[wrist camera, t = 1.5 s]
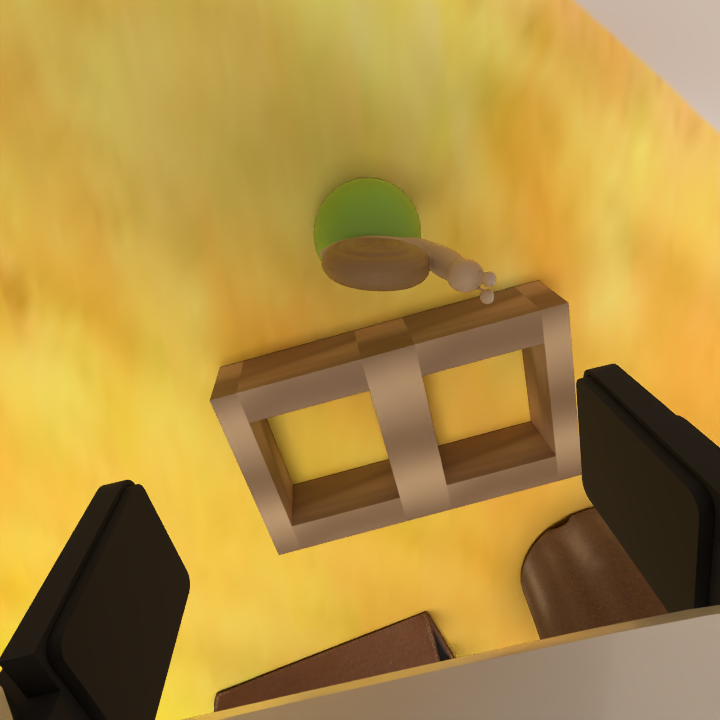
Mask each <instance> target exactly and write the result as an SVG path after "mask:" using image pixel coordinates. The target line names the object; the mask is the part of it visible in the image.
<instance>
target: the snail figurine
mask: <svg viewBox="0 0 720 720" xmlns="http://www.w3.org/2000/svg"><path fill="white" fill-rule="evenodd" d="M314 242H315V247H316V250H317V253H318V256H319V258H320V260H321V263H322V267H323V270H324V272H325V273H326V275H327V276H328V277H329V278H331V279H332V280H333V281H335V282H337V283H339V284H342V285H344V286H347V287H351V288H355V289H361V290H369V291H395V290H402V289H407V288H411V287H413V286H416V285H418V284H420V283H421V282H422V281H424V280H425V279H426V277H427V276H428V274H429V271H432V272H433V273H435V274H436V275H438V276H439V277H441V278H443V279H445V280H447V281H448V283H449V285H450V286H451V287H452V288H453V289H455V290H457V291H459V292H471V291H474V290H476V289H479V290H480V291H482V293H481V294H480V300H481V301H482V302H483V303H484V304H490V303H492V302H493V300H494V293H493V291H491V290H489V289H487V290H483V289H481V288H480V285H481V284H482V283H483V284H484V285H485V286H487V287H492V286H493V285H495V282H496V276H495V274H494V273H493V272H487V273H484V271H483V269H482V268H481V266H480V265H479V264H478V263H477V262H475V261H473V260H469V259H464V258H463V257H462V256H461V255H460V254H458V253H457V252H455V251H454V250H452V249H450V248H447V247H445V246H442V245H439V244H437V243H433V242H429V241H427V240H423V239H421V226H420V220H419V217H418V214H417V211H416V209H415V207H414V205H413V203H412V202H411V200H410V199H409V198H408V197H407V195H406V194H405V193H404V192H403V191H401V190H400V189H399V188H398V187H396V186H394V185H393V184H391V183H389V182H386V181H383V180H380V179H374V178H361V179H355V180H352V181H349V182H346V183H344V184H342V185H341V186H339V187H338V188H336V189H335V190H334V191H332V192H331V193H330V194H329V195H328V197H327V198H326V199H325V200H324V202H323V203H322V205H321V207H320V209H319V211H318V213H317V216H316V220H315V225H314Z"/></svg>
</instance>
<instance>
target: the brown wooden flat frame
mask: <svg viewBox="0 0 720 720" xmlns="http://www.w3.org/2000/svg"><path fill="white" fill-rule="evenodd" d="M520 349H522V352H523V360H524V368H525V376H526V384H527V392H528V400H529V408H530V416H531V422H527V423H523V424H520V425H516V426H512V427H508V428H505V429H501V430H497V431H494V432H490V433H486V434H482V435H479V436H475V437H471V438H467V439H464V440H460V441H456V442H453V443H449V444H445V445H441V446H438V445H437V440H436V436H435V432H434V427H433V423H432V418H431V414H430V410H429V405H428V401H427V396H426V392H425V388H424V383H423V379H422V376H424V375H428V374H432V373H435V372H439V371H443V370H446V369H450V368H454V367H457V366H461V365H465V364H469V363H472V362H476V361H480V360H483V359H487V358H491V357H494V356H498V355H502V354H505V353H509V352H513V351H516V350H520ZM369 390H370V393H371V397H372V400H373V404H374V407H375V411H376V414H377V418H378V421H379V425H380V428H381V432H382V436H383V439H384V443H385V446H386V450H387V453H388V457H389V460H385V461H382V462H378V463H374V464H370V465H367V466H363V467H359V468H356V469H352V470H348V471H344V472H341V473H337V474H333V475H329V476H326V477H322V478H318V479H315V480H311V481H307V482H303V483H300V484H296V485H293V484H292V482H291V479H290V477H289V474H288V472H287V469H286V467H285V464H284V462H283V459H282V457H281V454H280V452H279V449H278V447H277V444H276V442H275V439H274V437H273V434H272V432H271V429H270V426H269V424H268V421H267V419H266V418H269V417H273V416H277V415H281V414H284V413H288V412H292V411H295V410H299V409H303V408H306V407H310V406H314V405H317V404H321V403H325V402H328V401H332V400H336V399H340V398H343V397H347V396H351V395H354V394H358V393H362V392H365V391H369ZM210 402H211V404H212V406H213V409H214V411H215V413H216V415H217V418H218V420H219V422H220V424H221V427H222V429H223V431H224V433H225V435H226V438H227V440H228V442H229V444H230V447H231V449H232V451H233V453H234V456H235V458H236V460H237V462H238V465H239V467H240V469H241V471H242V474H243V476H244V478H245V480H246V482H247V485H248V487H249V489H250V491H251V494H252V496H253V498H254V500H255V503H256V505H257V507H258V509H259V512H260V514H261V516H262V518H263V521H264V523H265V525H266V527H267V529H268V532H269V534H270V536H271V538H272V541H273V543H274V545H275V547H276V550H277V552H278V554H279V555H281V554H285V553H288V552H292V551H296V550H300V549H303V548H307V547H311V546H315V545H318V544H322V543H326V542H330V541H334V540H337V539H341V538H345V537H349V536H352V535H356V534H360V533H364V532H367V531H371V530H375V529H379V528H383V527H386V526H390V525H394V524H398V523H401V522H405V521H409V520H413V519H416V518H420V517H424V516H428V515H431V514H435V513H439V512H443V511H447V510H450V509H454V508H458V507H462V506H465V505H469V504H473V503H477V502H480V501H484V500H488V499H492V498H496V497H499V496H503V495H507V494H511V493H514V492H518V491H522V490H526V489H529V488H533V487H537V486H541V485H544V484H548V483H552V482H556V481H560V480H563V479H567V478H571V477H575V476H578V475H582V472H581V459H580V446H579V433H578V420H577V408H576V395H575V382H574V369H573V356H572V343H571V330H570V318H569V305H568V302H567V301H565V300H564V299H563V298H561V297H560V296H559V295H557V294H556V293H555V292H553V291H552V290H551V289H549V288H548V287H547V286H545V285H544V284H543V283H541V282H540V281H539V280H538V281H534V282H530V283H527V284H523V285H520V286H516V287H512V288H509V289H505V290H501V291H498V292H494V300H493V302H492V303H490V304H484V303H483V302H482V301H481V300H480V296H479V297H476V298H472V299H468V300H465V301H461V302H457V303H454V304H450V305H446V306H443V307H439V308H436V309H432V310H428V311H425V312H421V313H417V314H414V315H410V316H406V317H403V318H399V319H395V320H392V321H388V322H384V323H381V324H377V325H373V326H370V327H366V328H363V329H359V330H355V331H352V332H348V333H344V334H341V335H337V336H333V337H330V338H326V339H322V340H319V341H315V342H311V343H308V344H304V345H300V346H297V347H293V348H289V349H286V350H282V351H279V352H275V353H271V354H268V355H264V356H260V357H257V358H253V359H249V360H246V361H242V362H238V363H235V364H231V365H227V366H224V367H220V369H219V372H218V375H217V379H216V382H215V385H214V389H213V392H212V395H211V398H210Z"/></svg>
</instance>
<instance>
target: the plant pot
mask: <svg viewBox="0 0 720 720" xmlns="http://www.w3.org/2000/svg"><path fill="white" fill-rule="evenodd" d="M521 584H522V589H523V593H524V595H525V598H526V600H527V603H528V606H529V609H530V611H531V614H532V617H533V620H534V622H535V625H536V628H537V631H538V634H539V637H540V640H542V639H547V638H551V637H556V636H561V635H565V634H570V633H575V632H579V631H584V630H588V629H593V628H598V627H603V626H608V625H613V624H618V623H623V622H628V621H633V620H638V619H643V618H648V617H653V616H658V615H664V614H669V613H668V611H667V610H666V609H665V607H664V606H663V604H662V603H661V601H660V600H659V598H658V597H657V596H656V594H655V593H654V591H653V590H652V588H651V587H650V586H649V584H648V583H647V581H646V580H645V578H644V577H643V576H642V574H641V573H640V571H639V570H638V568H637V567H636V566H635V564H634V563H633V561H632V560H631V558H630V557H629V556H628V554H627V553H626V551H625V550H624V548H623V547H622V546H621V544H620V543H619V541H618V540H617V538H616V537H615V535H614V534H613V533H612V531H611V530H610V528H609V527H608V525H607V524H606V523H605V521H604V520H603V518H602V517H601V515H600V514H599V513H598V511H597V510H596V508H592V509H587V510H585V511H582V512H579V513H576V514H573V515H572V516H570V518H569V520H568V521H567V523H566V524H564V525H563V526H561V527H558V528H556V529H549V530H547V531H546V532H545V533H544V534H543V535H542V536H541V537H540V538H539V539H538V540H537V542H536V543H535V544H534V545H533V547H532V548H531V550H530V551H529V553H528V555H527V557H526V559H525V562H524V565H523V569H522V574H521Z"/></svg>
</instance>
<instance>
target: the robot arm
mask: <svg viewBox="0 0 720 720" xmlns="http://www.w3.org/2000/svg"><path fill="white" fill-rule="evenodd" d="M576 389H577V405H578V421H579V436H580V452H581V468H582V481H583V486H584V489H585V492H586V494H587V496H588V498H589V500H590V501H591V503H592V504H593V505H594V507H595V508H596V510H597V511H598V513H599V514H600V515H601V517H602V518H603V520H604V521H605V523H606V524H607V525H608V527H609V528H610V530H611V531H612V533H613V534H614V535H615V537H616V538H617V540H618V541H619V543H620V544H621V546H622V547H623V548H624V550H625V551H626V553H627V554H628V556H629V557H630V558H631V560H632V561H633V563H634V564H635V566H636V567H637V568H638V570H639V571H640V573H641V574H642V576H643V577H644V578H645V580H646V581H647V583H648V584H649V586H650V587H651V588H652V590H653V591H654V593H655V594H656V596H657V597H658V598H659V600H660V601H661V603H662V604H663V606H664V607H665V609H666V610H667V611H668V613H669V614H664V615H658V616H653V617H648V618H643V619H638V620H633V621H628V622H623V623H618V624H613V625H608V626H603V627H598V628H593V629H588V630H584V631H579V632H575V633H570V634H565V635H561V636H556V637H551V638H547V639H542V640H538V641H533V642H528V643H524V644H519V645H514V646H510V647H505V648H501V649H496V650H491V651H487V652H482V653H478V654H473V655H468V656H464V657H459V658H454V659H450V660H445V661H441V662H436V663H432V664H427V665H423V666H418V667H414V668H409V669H405V670H400V671H396V672H391V673H387V674H382V675H378V676H373V677H369V678H364V679H360V680H355V681H351V682H346V683H342V684H337V685H333V686H328V687H324V688H319V689H315V690H310V691H306V692H301V693H297V694H292V695H288V696H284V697H279V698H275V699H270V700H266V701H262V702H257V703H253V704H249V705H244V706H240V707H235V708H231V709H227V710H222V711H218V712H214V713H209V714H205V715H200V716H196V717H192V718H187V719H183V720H720V448H719V447H718V446H717V445H716V444H715V443H713V442H712V441H711V440H710V439H709V438H707V437H706V436H705V435H704V434H703V433H702V432H700V431H699V430H698V429H697V428H696V427H694V426H693V425H692V424H691V423H690V422H688V421H687V420H686V419H684V418H683V417H681V416H678V415H676V414H674V413H673V412H672V411H671V410H670V409H668V408H667V407H666V406H665V405H664V404H663V403H661V402H660V401H659V400H658V399H657V398H655V397H654V396H653V395H652V394H651V393H650V392H648V391H647V390H646V389H645V388H644V387H643V386H641V385H640V384H639V383H638V382H637V381H635V380H634V379H633V378H632V377H631V376H630V375H628V374H627V373H626V372H625V371H624V370H623V369H621V368H620V367H619V366H618V365H616V364H609V365H605V366H601V367H597V368H593V369H588V370H586V371H585V372H584V378H581V379H578V380H577V383H576ZM189 590H190V579H189V575H188V572H187V570H186V568H185V566H184V564H183V562H182V560H181V558H180V557H179V555H178V553H177V551H176V549H175V547H174V545H173V543H172V541H171V539H170V537H169V535H168V533H167V531H166V530H165V528H164V526H163V524H162V522H161V520H160V518H159V516H158V514H157V512H156V510H155V508H154V506H153V504H152V503H151V501H150V499H149V497H148V495H147V493H146V491H145V489H144V488H143V486H142V485H140V484H136V485H135V484H134V482H132V481H131V480H124V481H120V482H116V483H111V484H107V485H103V486H101V487H100V488H99V489H98V490H97V492H96V494H95V495H94V497H93V499H92V500H91V502H90V504H89V506H88V507H87V509H86V511H85V513H84V514H83V516H82V518H81V519H80V521H79V523H78V525H77V526H76V528H75V530H74V531H73V533H72V535H71V537H70V538H69V540H68V542H67V544H66V545H65V547H64V549H63V550H62V552H61V554H60V556H59V557H58V559H57V561H56V562H55V564H54V566H53V568H52V569H51V571H50V573H49V574H48V576H47V578H46V580H45V581H44V583H43V585H42V587H41V588H40V590H39V592H38V593H37V595H36V597H35V599H34V600H33V602H32V604H31V605H30V607H29V609H28V611H27V612H26V614H25V616H24V618H23V619H22V621H21V623H20V624H19V626H18V628H17V630H16V631H15V633H14V635H13V636H12V638H11V640H10V642H9V643H8V645H7V647H6V648H5V650H4V652H3V654H2V655H1V657H0V666H1V667H2V668H3V669H2V671H1V672H0V720H155V717H156V714H157V710H158V706H159V702H160V699H161V695H162V691H163V687H164V684H165V680H166V676H167V672H168V669H169V665H170V661H171V658H172V654H173V650H174V646H175V643H176V639H177V635H178V631H179V628H180V624H181V620H182V616H183V613H184V609H185V605H186V602H187V598H188V594H189Z"/></svg>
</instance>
